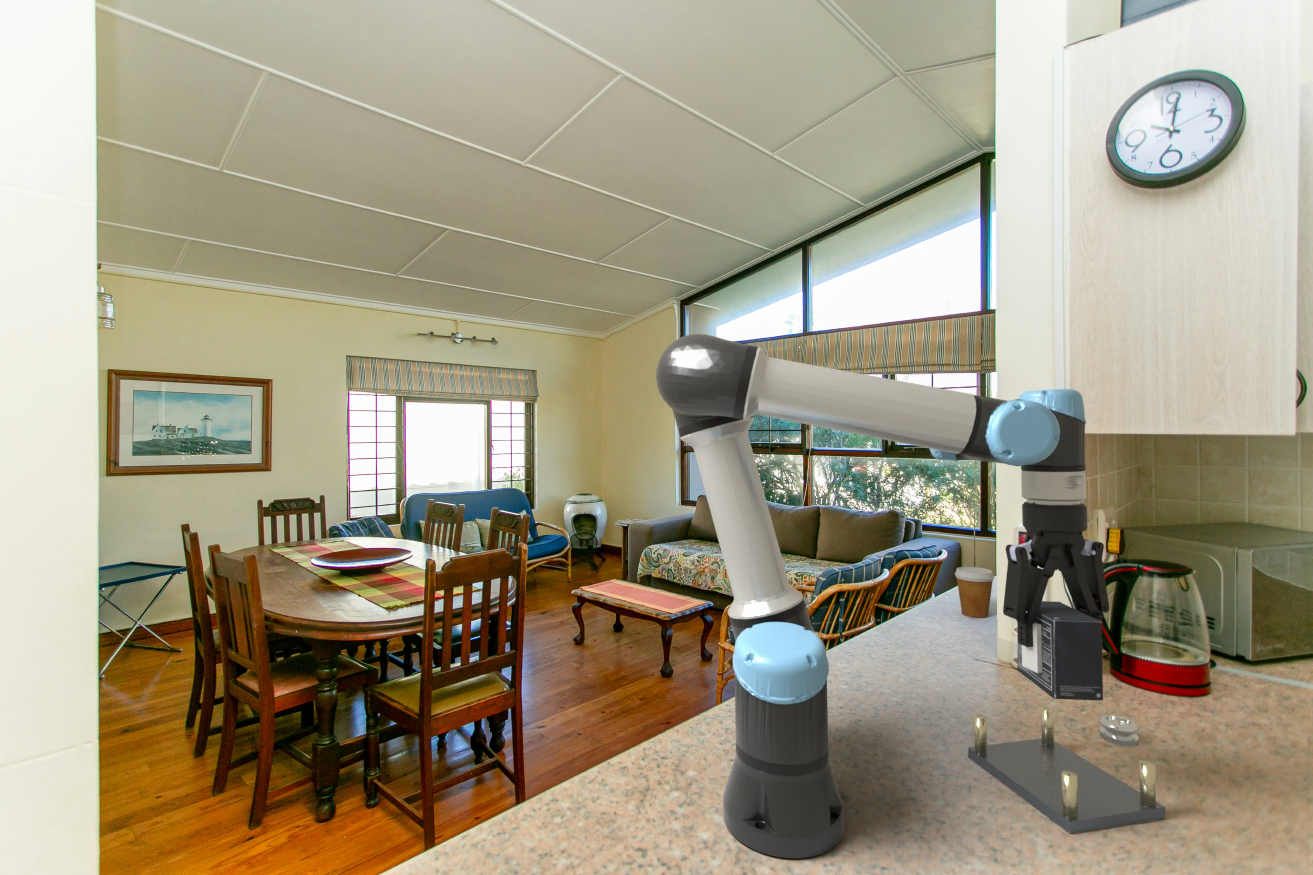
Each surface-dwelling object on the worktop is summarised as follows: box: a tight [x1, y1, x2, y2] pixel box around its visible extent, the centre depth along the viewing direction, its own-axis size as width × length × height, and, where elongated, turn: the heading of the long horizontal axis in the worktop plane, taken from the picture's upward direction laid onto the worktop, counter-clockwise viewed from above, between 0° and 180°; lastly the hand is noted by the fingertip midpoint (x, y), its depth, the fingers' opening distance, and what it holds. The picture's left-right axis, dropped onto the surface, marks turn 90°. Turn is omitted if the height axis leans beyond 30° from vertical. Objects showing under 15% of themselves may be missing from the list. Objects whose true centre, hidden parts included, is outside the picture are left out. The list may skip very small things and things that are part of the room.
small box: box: [1016, 600, 1104, 701], centre depth 84 cm, size 11×6×10 cm, turn 174°
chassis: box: [967, 706, 1166, 835], centre depth 84 cm, size 14×18×6 cm
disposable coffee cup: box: [954, 566, 996, 619], centre depth 162 cm, size 10×10×12 cm
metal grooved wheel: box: [1098, 714, 1140, 748], centre depth 96 cm, size 5×3×5 cm
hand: (1057, 666), depth 84 cm, fingers closed on small box, 7 cm apart
